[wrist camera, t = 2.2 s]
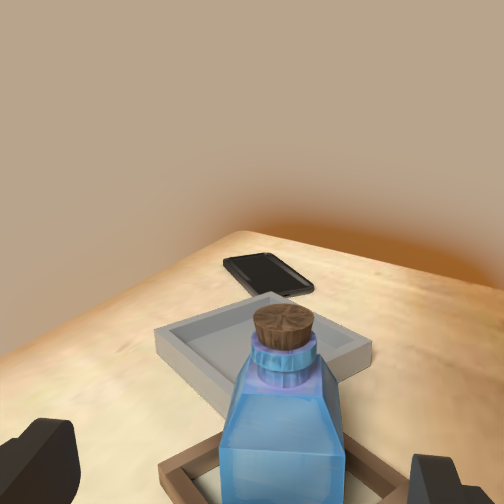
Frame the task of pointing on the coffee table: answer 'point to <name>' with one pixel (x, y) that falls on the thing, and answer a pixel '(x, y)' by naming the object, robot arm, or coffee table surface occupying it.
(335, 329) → the grey tray
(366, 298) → the coffee table surface
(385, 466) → the walnut collar
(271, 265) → the phone
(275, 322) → the perfume bottle
